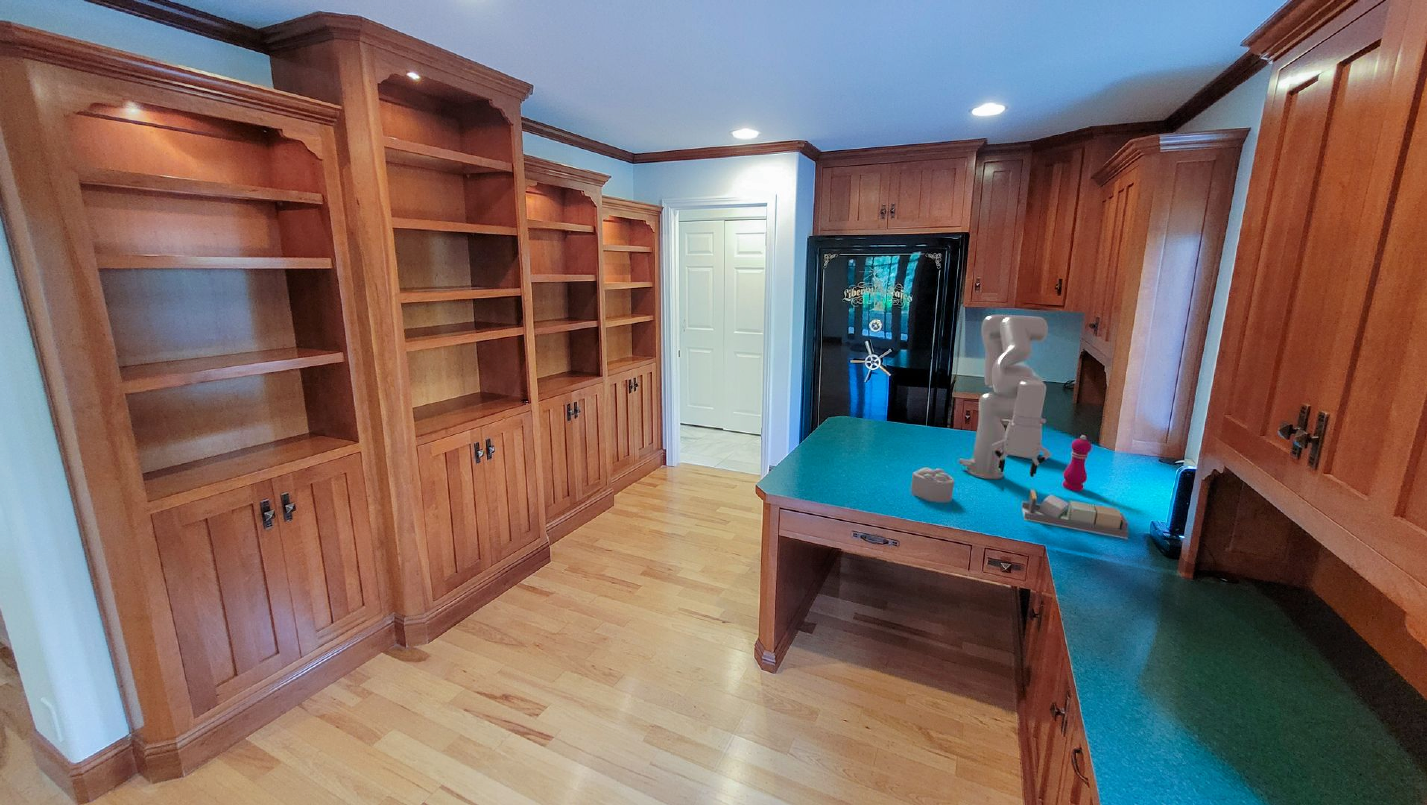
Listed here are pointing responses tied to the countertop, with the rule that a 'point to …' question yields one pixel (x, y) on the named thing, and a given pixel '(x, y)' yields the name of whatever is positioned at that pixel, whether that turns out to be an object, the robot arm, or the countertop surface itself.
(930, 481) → the lumpy-topped squat cylinder
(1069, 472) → the pepper mill
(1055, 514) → the small box
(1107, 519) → the kraft box
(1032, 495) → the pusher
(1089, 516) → the sage box
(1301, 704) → the countertop surface
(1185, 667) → the countertop surface
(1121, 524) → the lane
